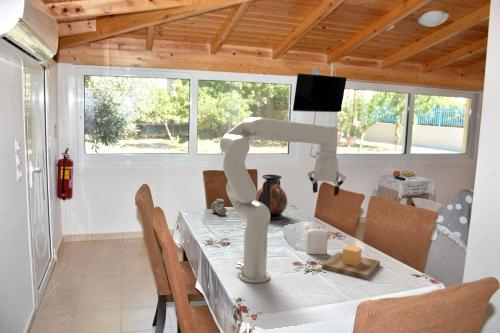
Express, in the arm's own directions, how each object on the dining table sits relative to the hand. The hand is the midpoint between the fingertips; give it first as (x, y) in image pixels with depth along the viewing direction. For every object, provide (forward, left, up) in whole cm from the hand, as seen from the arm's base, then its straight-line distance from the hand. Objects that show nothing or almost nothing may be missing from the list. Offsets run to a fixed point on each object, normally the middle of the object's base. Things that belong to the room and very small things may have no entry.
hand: (325, 193), depth 173 cm
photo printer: (-9, +15, -34) cm, 38 cm away
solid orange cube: (+11, +8, -31) cm, 34 cm away
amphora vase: (-62, +62, -34) cm, 94 cm away
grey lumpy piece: (-94, +48, -34) cm, 111 cm away
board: (+11, +8, -33) cm, 36 cm away
